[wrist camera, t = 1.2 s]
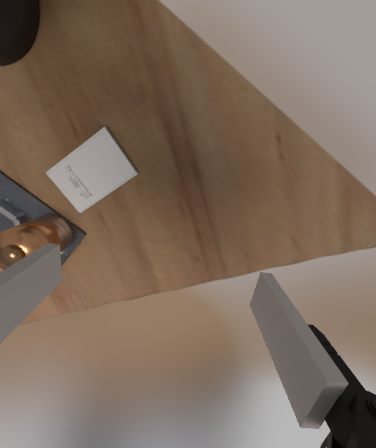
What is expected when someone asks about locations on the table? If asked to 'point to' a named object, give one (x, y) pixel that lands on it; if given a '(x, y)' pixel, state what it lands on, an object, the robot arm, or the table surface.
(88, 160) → the external hard drive
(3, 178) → the plate
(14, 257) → the copper knobbed cylinder
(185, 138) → the table surface
